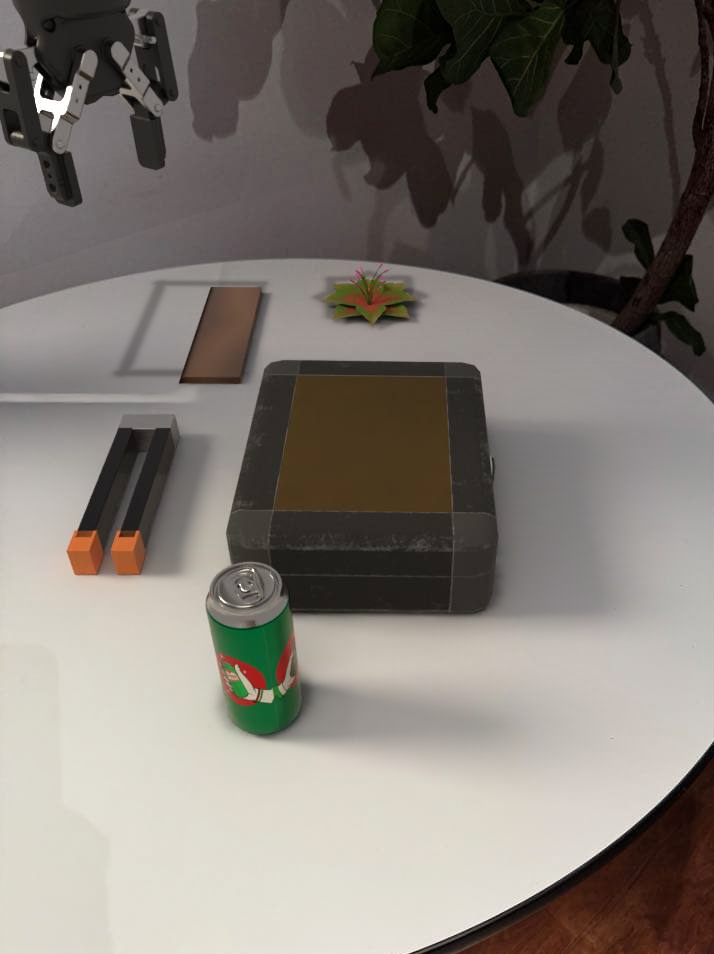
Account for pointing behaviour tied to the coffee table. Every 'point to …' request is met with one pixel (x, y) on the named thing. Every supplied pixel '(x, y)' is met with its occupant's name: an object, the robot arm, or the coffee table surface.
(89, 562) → the tongs
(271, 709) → the soda can
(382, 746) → the coffee table surface
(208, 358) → the board
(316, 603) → the cash box
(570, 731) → the coffee table surface
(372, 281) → the lily flower
